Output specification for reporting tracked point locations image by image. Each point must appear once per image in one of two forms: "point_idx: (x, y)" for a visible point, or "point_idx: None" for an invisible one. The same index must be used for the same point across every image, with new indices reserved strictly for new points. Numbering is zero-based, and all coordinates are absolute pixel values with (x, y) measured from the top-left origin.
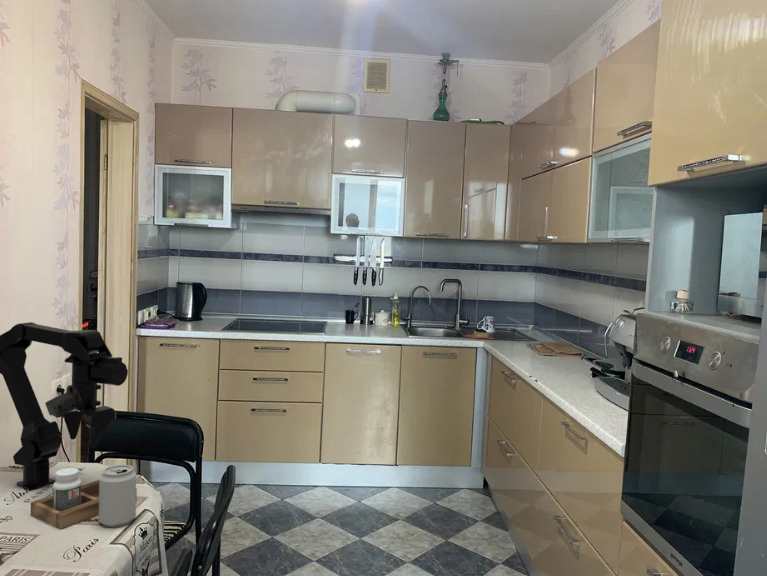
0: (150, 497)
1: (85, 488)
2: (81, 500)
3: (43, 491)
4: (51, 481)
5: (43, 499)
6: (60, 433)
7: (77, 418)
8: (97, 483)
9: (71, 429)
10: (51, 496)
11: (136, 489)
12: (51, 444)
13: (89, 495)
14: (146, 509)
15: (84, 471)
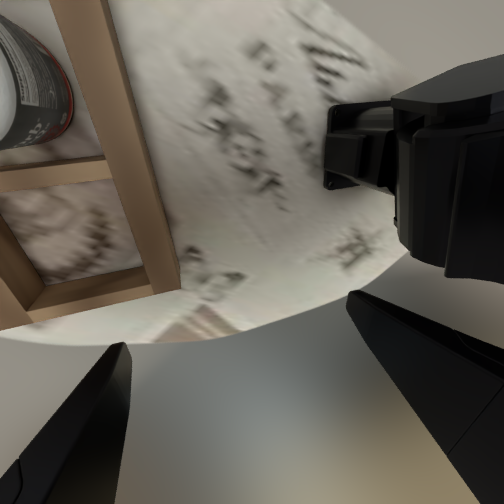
0: (28, 334)
1: (125, 209)
2: (50, 163)
3: (293, 135)
4: (328, 179)
5: (82, 4)
6: (458, 273)
7: (461, 438)
8: (142, 253)
9: (400, 335)
10: (102, 58)
11: (2, 327)
12: (421, 206)
13: (10, 188)
14: None
15: (330, 266)
